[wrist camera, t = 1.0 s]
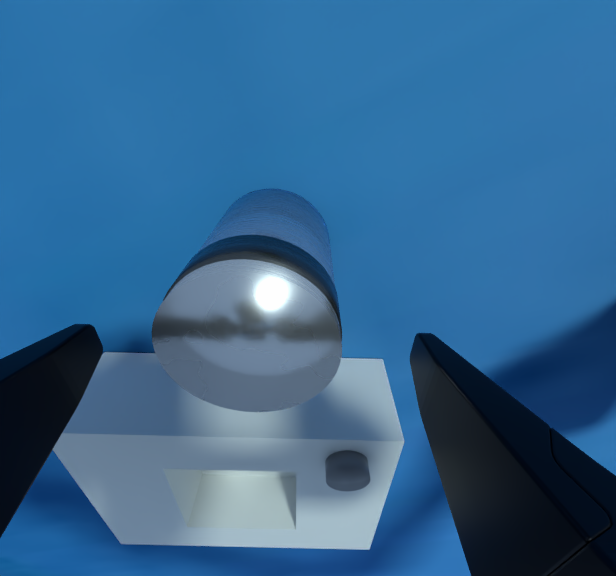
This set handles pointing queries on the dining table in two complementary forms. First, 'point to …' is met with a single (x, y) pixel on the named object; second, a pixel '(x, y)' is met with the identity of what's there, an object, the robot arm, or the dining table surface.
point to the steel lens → (255, 309)
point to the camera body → (233, 460)
